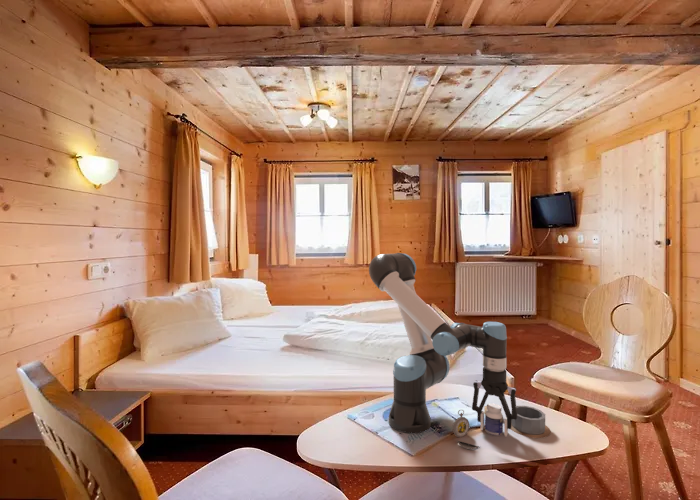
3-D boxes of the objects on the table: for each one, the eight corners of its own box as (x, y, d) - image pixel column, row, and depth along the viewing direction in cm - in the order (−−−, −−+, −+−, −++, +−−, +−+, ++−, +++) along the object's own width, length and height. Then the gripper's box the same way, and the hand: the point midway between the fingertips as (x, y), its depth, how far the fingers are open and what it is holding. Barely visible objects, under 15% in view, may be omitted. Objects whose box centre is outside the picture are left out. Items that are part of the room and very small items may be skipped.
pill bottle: (504, 440, 121) (504, 410, 121) (486, 438, 123) (486, 409, 122) (500, 431, 127) (501, 403, 127) (483, 429, 128) (483, 401, 128)
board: (503, 434, 125) (503, 430, 125) (508, 417, 137) (509, 414, 137) (550, 445, 118) (550, 442, 118) (551, 426, 130) (551, 423, 130)
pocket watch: (476, 453, 114) (476, 421, 114) (450, 445, 118) (450, 414, 118) (482, 440, 121) (482, 411, 121) (457, 433, 125) (457, 405, 125)
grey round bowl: (510, 429, 126) (510, 415, 125) (513, 417, 135) (513, 403, 135) (544, 438, 120) (544, 422, 120) (545, 424, 129) (545, 409, 129)
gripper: (462, 366, 126) (462, 431, 126) (525, 376, 116) (525, 447, 116) (467, 360, 132) (466, 422, 133) (527, 369, 122) (527, 436, 123)
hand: (494, 434), depth 125 cm, fingers open, 7 cm apart
